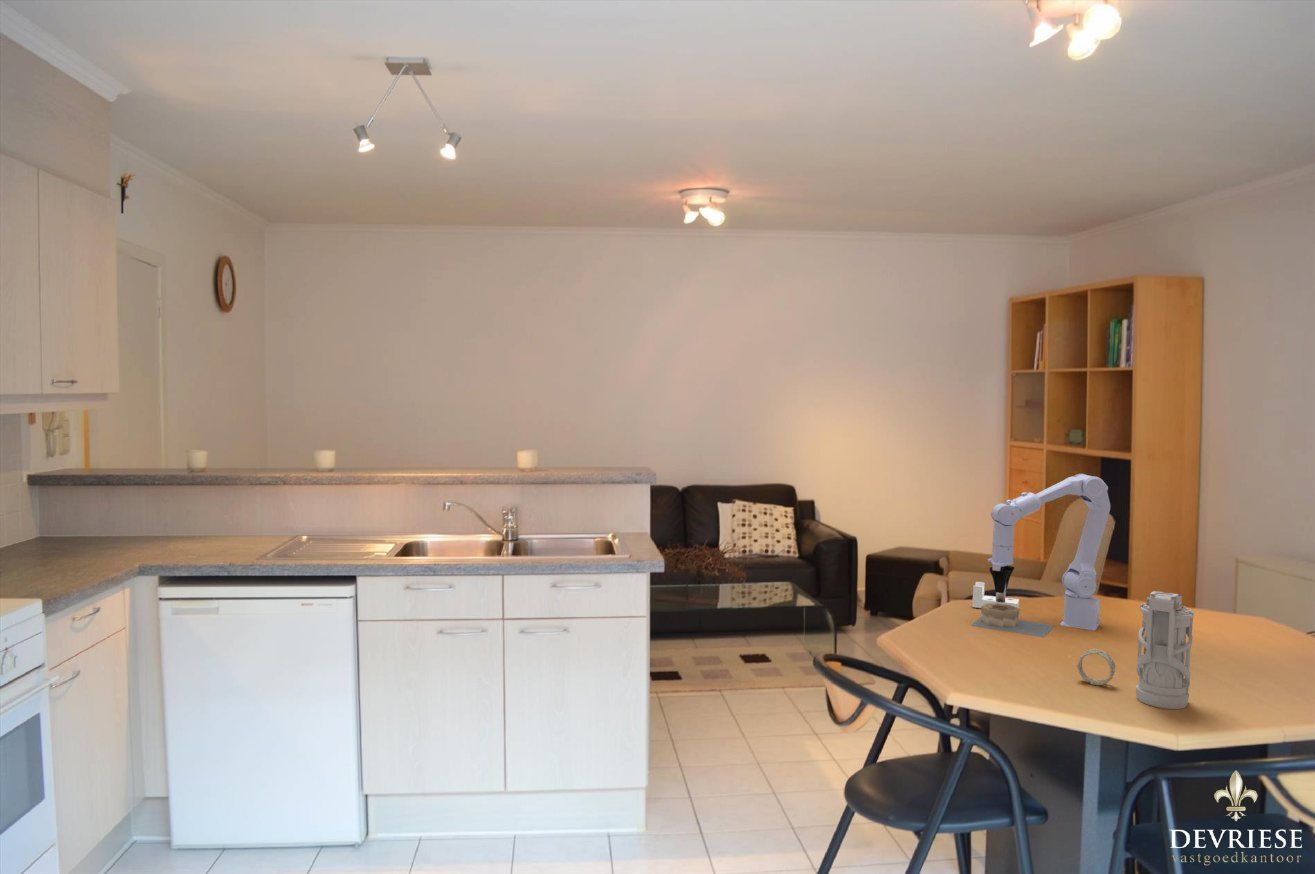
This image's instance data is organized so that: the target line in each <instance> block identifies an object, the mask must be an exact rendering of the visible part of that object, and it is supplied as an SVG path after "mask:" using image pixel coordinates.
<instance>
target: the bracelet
mask: <svg viewBox="0 0 1315 874" xmlns="http://www.w3.org/2000/svg"><path fill="white" fill-rule="evenodd" d="M1089 655H1097V656H1100V657H1102V658H1103V659H1104V660H1105V661H1106V662H1107V664H1108V666H1109V676H1108V677H1106V678H1105V679H1096V678H1093V677H1090V675H1088V674H1086V672H1085V671H1084V668H1083V660H1084V658H1085V657H1087V656H1089ZM1076 667H1077V671H1078V674H1079V676H1080V677H1081V678H1082V679H1083V680H1084V681H1085V682H1087V683H1089V684H1091V685H1094V686H1104V685H1106V684H1107V683H1109V682H1110V681H1112V679H1113V678H1114V676H1115V672H1116V663H1115V660H1114V659H1113V657H1112V656H1111V655H1110V654H1109V652H1106V651H1105V650H1102V649H1099V648H1090V649H1087V650H1086V651H1084V652H1083V653H1082V655H1080V657H1078V662H1077V663H1076Z"/></svg>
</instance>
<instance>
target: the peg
mask: <svg viewBox="0 0 1315 874" xmlns="http://www.w3.org/2000/svg"><path fill="white" fill-rule="evenodd" d="M1006 592H1007V590H1006V585H1005V590H1004V593H997V592H996V591H995V597H996V602H1001V603H1004V602H1005V598H1006Z"/></svg>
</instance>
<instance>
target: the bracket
mask: <svg viewBox="0 0 1315 874" xmlns="http://www.w3.org/2000/svg"><path fill="white" fill-rule="evenodd" d="M985 585H986V583H985V582H981V581H975V585H974V584H973V586H972V587H973V588H972V608H977V609H981V607H982V605H984V604H989V603H999V604H1006V605H1012V606H1014V607H1017V608H1019V609H1020V598H1019V599H1018V598H1012V597H1005V602H1004V603H1001V602H996V596H994V595H985Z"/></svg>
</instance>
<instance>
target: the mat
mask: <svg viewBox="0 0 1315 874" xmlns="http://www.w3.org/2000/svg"><path fill="white" fill-rule="evenodd" d="M970 626H971V627H977V628H981V629H982V628H983V629H990V630H995V631H1002V632H1007V633H1008V632H1010V633H1016V634H1021V635H1029V636H1034V637H1040V638H1045V637H1046V636H1047V635H1048V634H1049V633H1050V632H1051V631H1052V630H1053V628H1054V627H1056V625H1055V624H1048V623H1042V622H1036V621H1029V620H1021V619H1018V624H1017V625H1016V626H1015V627H1000V626H993V625H988V624H986V623H984V622H981V617H980V618H978V619H977V620H975V621H974V622H973V623H971V624H970Z"/></svg>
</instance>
